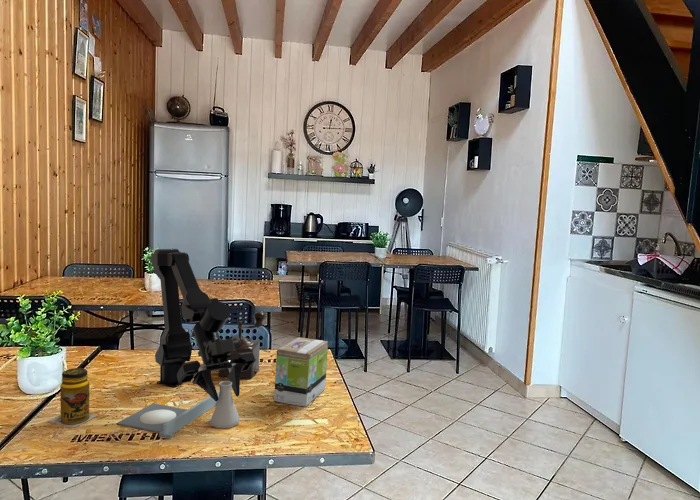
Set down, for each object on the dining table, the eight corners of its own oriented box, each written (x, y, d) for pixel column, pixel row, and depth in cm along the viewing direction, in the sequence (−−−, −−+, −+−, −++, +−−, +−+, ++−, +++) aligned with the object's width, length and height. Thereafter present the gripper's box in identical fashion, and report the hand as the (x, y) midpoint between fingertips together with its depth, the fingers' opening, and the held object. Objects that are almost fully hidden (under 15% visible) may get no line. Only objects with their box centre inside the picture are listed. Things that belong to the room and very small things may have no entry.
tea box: (307, 407, 135) (309, 353, 134) (272, 402, 138) (274, 348, 136) (326, 389, 149) (328, 339, 148) (294, 384, 152) (296, 335, 151)
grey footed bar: (159, 436, 115) (159, 423, 114) (212, 401, 136) (213, 391, 135) (170, 438, 114) (170, 425, 114) (222, 403, 135) (223, 392, 135)
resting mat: (116, 424, 120) (116, 422, 120) (153, 404, 132) (153, 402, 132) (163, 433, 116) (163, 432, 116) (196, 412, 129) (196, 410, 129)
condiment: (74, 428, 117) (74, 377, 116) (45, 421, 120) (45, 372, 119) (98, 416, 124) (98, 368, 123) (71, 410, 127) (71, 363, 125)
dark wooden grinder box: (252, 379, 154) (254, 321, 152) (217, 377, 155) (218, 319, 153) (265, 364, 169) (267, 311, 168) (233, 361, 170) (234, 308, 169)
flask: (232, 431, 119) (233, 389, 118) (203, 427, 121) (204, 386, 120) (244, 418, 126) (245, 379, 125) (217, 415, 128) (218, 376, 127)
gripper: (182, 329, 118) (201, 390, 111) (253, 320, 130) (274, 374, 123) (169, 354, 125) (186, 412, 118) (238, 343, 137) (257, 396, 130)
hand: (227, 398), depth 122 cm, fingers open, 5 cm apart
